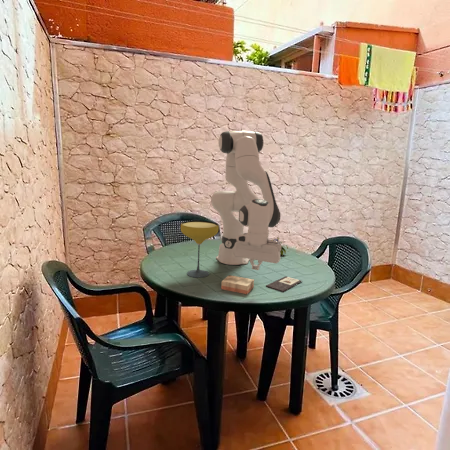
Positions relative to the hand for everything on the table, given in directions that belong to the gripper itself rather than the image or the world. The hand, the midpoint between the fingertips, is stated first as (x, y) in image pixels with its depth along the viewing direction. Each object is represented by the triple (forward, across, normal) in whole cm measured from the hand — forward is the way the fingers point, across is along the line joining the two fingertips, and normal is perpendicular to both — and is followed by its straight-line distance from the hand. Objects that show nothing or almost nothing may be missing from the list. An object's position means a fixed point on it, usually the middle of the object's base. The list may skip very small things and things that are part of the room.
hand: (255, 269), depth 147 cm
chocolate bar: (+11, -10, -16) cm, 21 cm away
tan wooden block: (+8, +2, 0) cm, 9 cm away
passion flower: (+10, +8, -65) cm, 66 cm away
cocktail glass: (+10, +32, -7) cm, 34 cm away
